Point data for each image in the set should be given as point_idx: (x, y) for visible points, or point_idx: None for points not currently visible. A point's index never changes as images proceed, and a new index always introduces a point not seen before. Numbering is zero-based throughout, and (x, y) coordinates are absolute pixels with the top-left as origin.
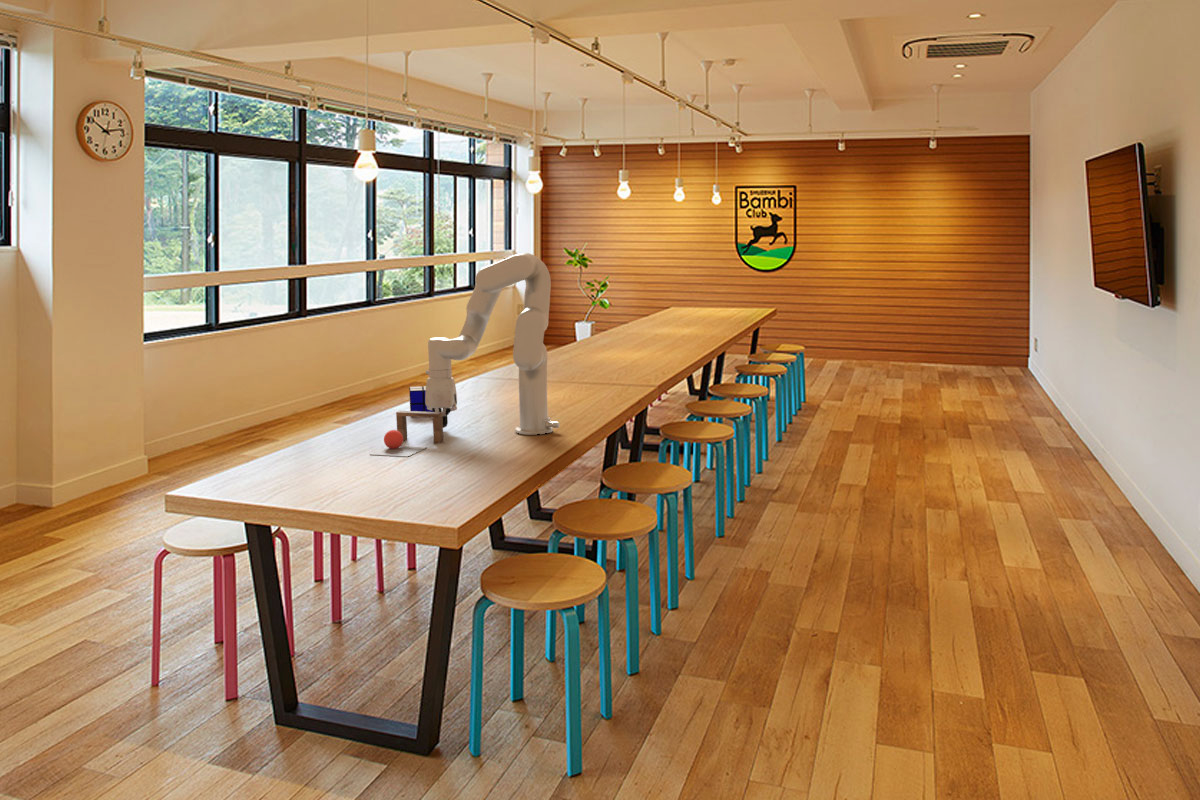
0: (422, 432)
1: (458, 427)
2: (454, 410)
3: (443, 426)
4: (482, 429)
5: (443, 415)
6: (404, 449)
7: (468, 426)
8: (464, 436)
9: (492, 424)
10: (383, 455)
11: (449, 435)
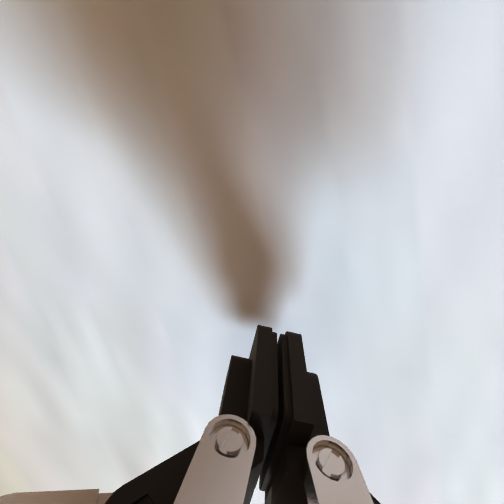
0: (439, 303)
1: None
2: (17, 494)
3: (255, 340)
4: (2, 383)
5: (238, 433)
6: None
7: (134, 466)
8: (15, 126)
9: None
10: None
11: (169, 174)
